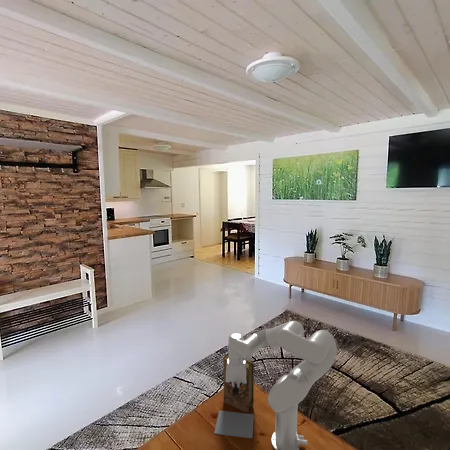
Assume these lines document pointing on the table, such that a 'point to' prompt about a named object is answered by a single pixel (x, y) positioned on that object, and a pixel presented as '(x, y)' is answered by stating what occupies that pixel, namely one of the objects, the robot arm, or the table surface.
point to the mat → (234, 424)
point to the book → (240, 389)
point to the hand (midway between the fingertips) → (236, 393)
